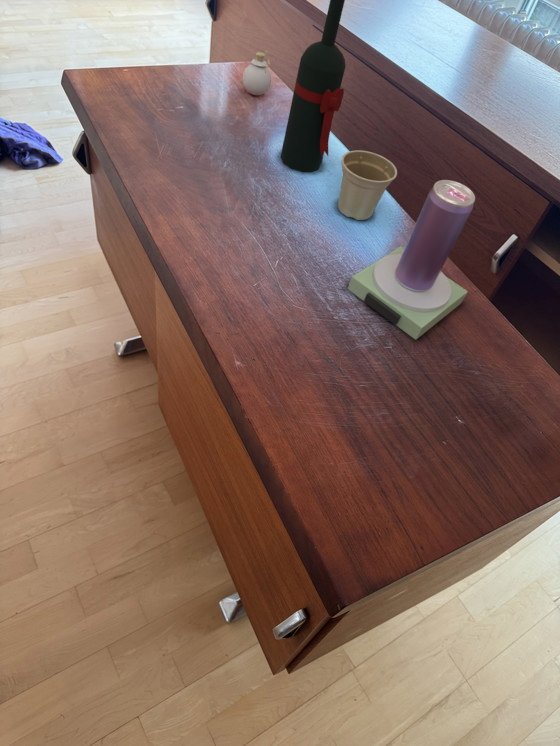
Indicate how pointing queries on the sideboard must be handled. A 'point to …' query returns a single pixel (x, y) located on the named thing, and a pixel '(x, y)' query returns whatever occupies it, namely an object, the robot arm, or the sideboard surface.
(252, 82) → the ornament
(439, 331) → the sideboard surface
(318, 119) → the wine bottle
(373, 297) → the scale
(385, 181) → the flower pot
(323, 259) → the sideboard surface
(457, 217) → the beverage can
